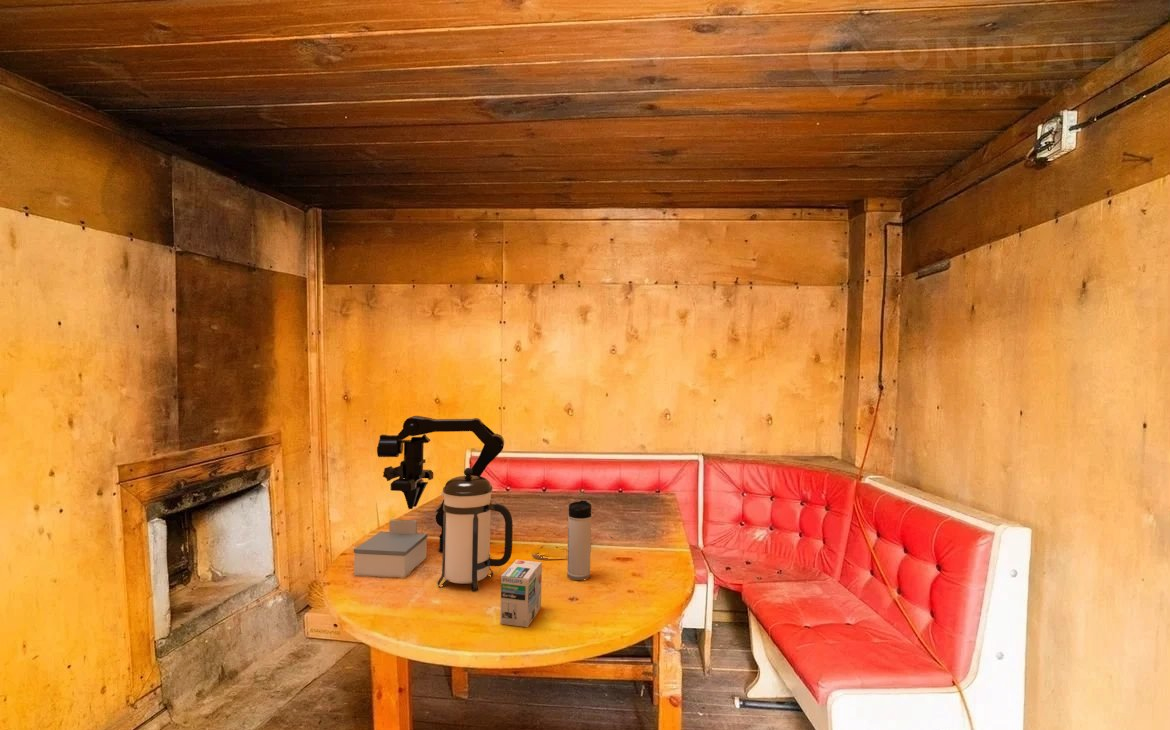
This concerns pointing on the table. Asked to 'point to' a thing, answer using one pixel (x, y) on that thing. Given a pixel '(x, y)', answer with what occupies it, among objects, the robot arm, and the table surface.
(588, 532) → the travel mug
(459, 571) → the coffee press
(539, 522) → the table surface
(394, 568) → the grey parts tub
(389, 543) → the slate lid
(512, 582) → the light bulb box
